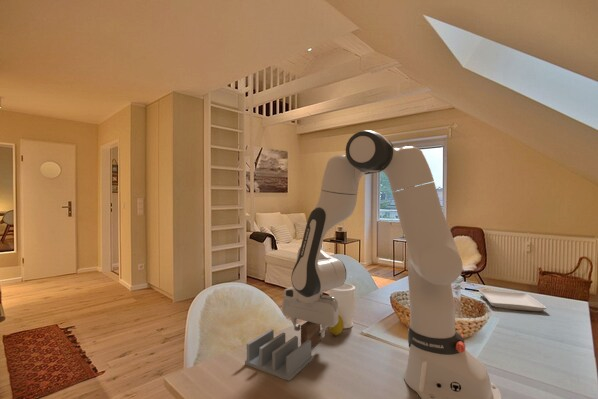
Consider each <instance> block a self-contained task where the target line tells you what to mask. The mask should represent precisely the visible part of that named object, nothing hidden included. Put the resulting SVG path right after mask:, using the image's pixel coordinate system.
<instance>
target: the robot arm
mask: <svg viewBox="0 0 598 399" xmlns="http://www.w3.org/2000/svg"><path fill="white" fill-rule="evenodd" d="M380 172H382V173H383V174H385V176H386V177H387V179H388V182H389V186H390V190H391V194H392V198H393V200H394V205H395V208H396V213H397V216H398V220H399V223H400V226H401V228H402V232H403V235H404V239H405V242H406V246H407V248H406V261H407V280H408V289H409V326H408V330H407V343H408V348H409V350H408V359H407V364H406V369H405V372H404V374H403V378H404V381H405V383H406V384H407V385H408V386H409V387H410V389H412V390H413V391H414V392H416V393H417V394H418V396H419V397H420V399H502V398H503V397H502V393H501V391H500V389H499V388H498V385H496V384H495V383H494V382H492V381H491V379H490V375H489V372H488V370H487V368H486V366H485V365H484V363H483V362H481V361H480V360H479V359H478V358H476V357H475V356H474V355H473V354H472V353H471V352H469V351H468V350H467V349H466V343H465V338H464V334H463V333H461V334H460V333H458V332H457V331H456V302H455V299H454V293H453V288H452V284H453V283H455V282H456V281H457V280H458V279H459V277H460V276H461V274H462V272H463V261H462V258H461V255H460V253H459V251H458V247H457V245H456V242H455V239H454V237H453V234H452V231H451V228H450V226H449V223H448V221H447V219H446V217H445V214H444V211H443V208H442V204H441V202H440V198H439V193H438V191H437V190H438V189H437V187H436V183H435V181H434V176H433V174H432V171H431V167H430V165H429V163H428V161H427V159H426V156H425V155H424V153H423V151H422V150H421V149H420V148H418V147H416V146H411V145H409V146H407V145H406V146H402V147H394V145H393V143H392V141H390V140H389V139H388V138H387V137H385V136H384V135H382V134H381V133H379V132H377V131H374V130H369V129H367V130H360V131H358V132H356V133H354V134H352V136H351V137H350V138H349V139H348V141H347V143H346V145H345V154H336V155H334V156H332V157H330V158H329V159H328V161H327V162H326V166H325V169H324V172H323V173H324V174H323V177H322V181H321V188H320V192H319V197H318V200H317V204H316V205H315V207H314V209H313V210H312V211H311V212H310V214H309V217H308V219H307V222H306V225H305V229H304V233H303V237H302V241H301V245H300V247H299V248H298V250H297V255H296V262H295V264H294V266H293V268H292V272H291V286H289V287H287V288H285V289H283V298H282V300H281V301H282V303H281V313H282V314H283V316H286V317H289V318H290V320H291V323H292V324H293V329H294V331H296V332H299V331H301V324H299V322H298V320H300V321H301V320H302V321H304V322H307V321H308V322H312V323H316V324H320V328H322V329H320V331H319V332H318V334H319V335H318V336H319V337H320V339H321V338H322V339H323V338H325V336H326V334H325V333H326V331H327V329H328V327H334V326H335V325H336V324H337V323H338V310H337V309H338V302H337V300H336V299H334V297H331V296H330V297H329V295H325V294H323V293H324V292H327V291H330V290H331V289H334V288H337V287H339V286H342V285H343V284H344V283H345V282H346V280H347V268H346V266H345V263H344V262H343V261H342V260H341V259H340V258H337V257H334V256H332V255H330V254H329V253H327V252H326V251H325V250H324V249H323V247H322V246H323V244H324V243H323V242H324V240H325V237H326V235H327V233H328V232H329V231H330V230H332V229H333V228H334V227H335V226H337V225H339V224H340V223H342V222H344V221H347V220H348V219H349V217H351V216H352V214H354V211H355V208H356V204H357V199H358V193H359V185H360V180H361V178H362V177H363V176H364V175H370V174H376V173H380ZM334 300H335V301H334Z"/></svg>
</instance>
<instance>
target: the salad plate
mask: <svg viewBox="0 0 598 399" xmlns="http://www.w3.org/2000/svg"><path fill="white" fill-rule="evenodd" d="M478 292H479V294H481V295H482V297H484V299H486V300H487V301H488V302H489V304H490V305H491V306H493V307H496V308H498V309H504V310H505V309H507V310H515V311H516V310H517V311H525V312H526V311H527V312H528V311H529V312H541V311H544V310H545V311H546V310H547V306H545V305H544V304H543V303H541V302H540V301H538V300H537V299H536V298H534V297H532V296H531V295H530V294H528V293H524V292H516V291H515V292H513V291H503V290H491V289H490V290H488V289H478Z"/></svg>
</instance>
